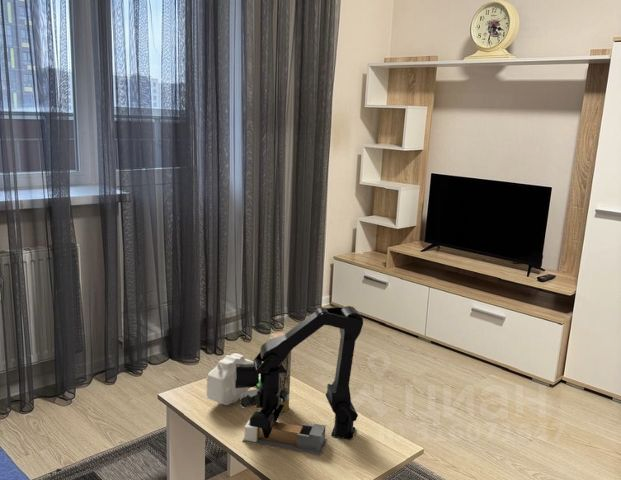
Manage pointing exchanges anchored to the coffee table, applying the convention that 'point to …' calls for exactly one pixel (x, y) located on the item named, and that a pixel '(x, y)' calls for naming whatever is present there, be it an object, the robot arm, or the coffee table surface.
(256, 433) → the socket
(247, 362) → the camera
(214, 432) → the coffee table surface
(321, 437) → the sleeve
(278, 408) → the robot arm
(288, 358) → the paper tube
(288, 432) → the tan wooden block
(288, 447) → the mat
